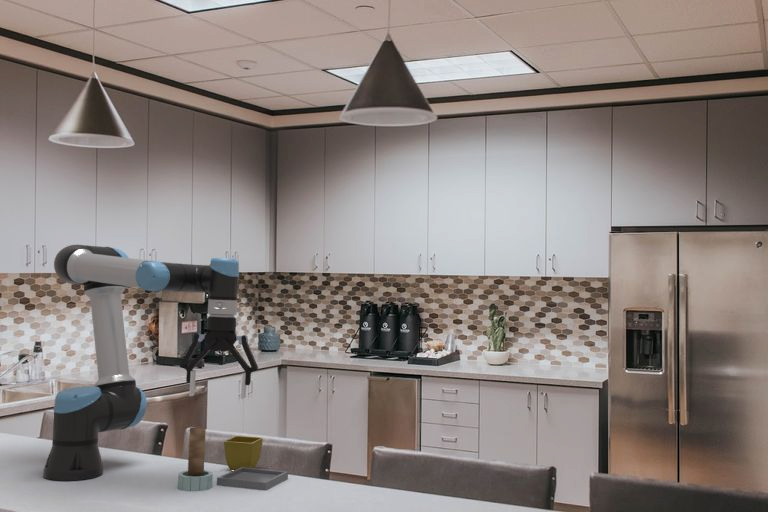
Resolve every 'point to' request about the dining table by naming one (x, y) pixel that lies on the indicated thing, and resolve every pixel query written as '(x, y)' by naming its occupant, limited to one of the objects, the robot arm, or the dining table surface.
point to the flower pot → (242, 451)
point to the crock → (195, 481)
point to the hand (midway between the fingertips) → (217, 396)
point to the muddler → (196, 451)
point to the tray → (252, 478)
